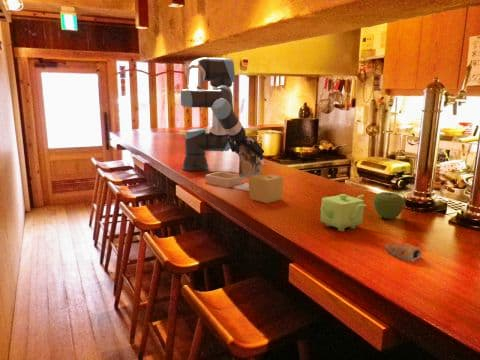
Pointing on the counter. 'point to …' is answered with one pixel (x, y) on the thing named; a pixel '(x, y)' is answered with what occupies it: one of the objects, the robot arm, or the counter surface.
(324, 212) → the kettle
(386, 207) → the apple
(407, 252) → the grey tapered shell
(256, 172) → the coffee box
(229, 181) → the tray
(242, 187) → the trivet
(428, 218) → the counter surface
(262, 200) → the cheese
